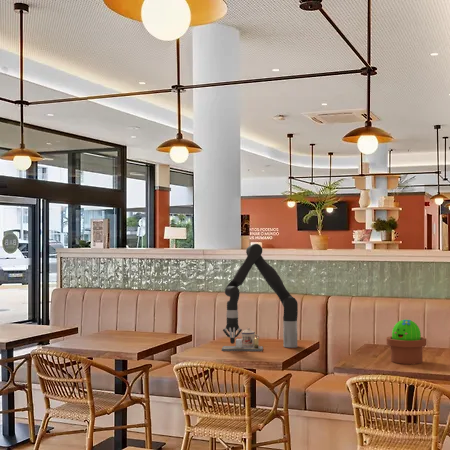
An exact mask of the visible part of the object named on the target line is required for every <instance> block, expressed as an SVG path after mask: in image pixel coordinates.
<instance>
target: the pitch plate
mask: <svg viewBox="0 0 450 450" xmlns="http://www.w3.org/2000/svg"><path fill="white" fill-rule="evenodd" d="M259 342H260V341H259V340H258V337H255V338H254V346H243V345H242V348H236V345H223V346H222V348H221V352H263V349H264V347H263V346H262V345H261V346H259Z"/></svg>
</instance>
